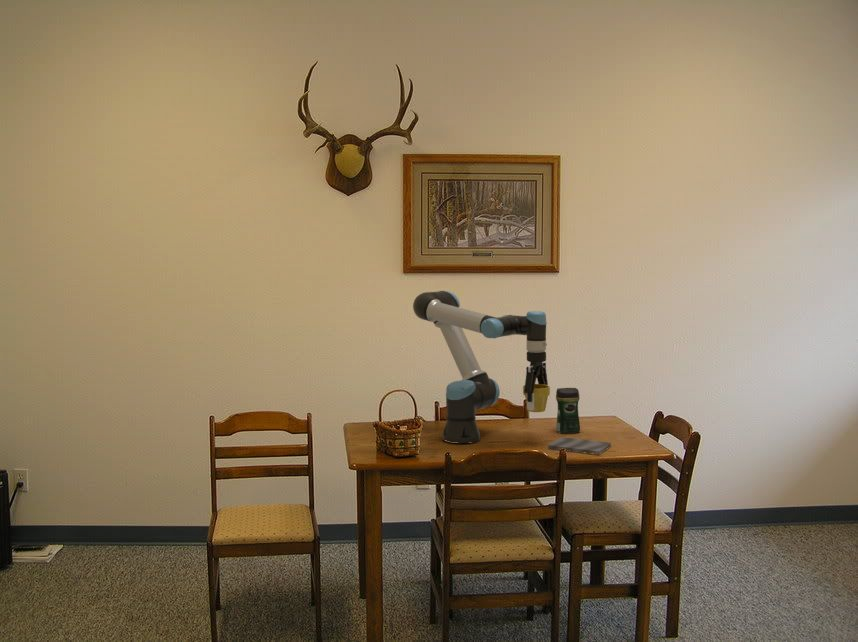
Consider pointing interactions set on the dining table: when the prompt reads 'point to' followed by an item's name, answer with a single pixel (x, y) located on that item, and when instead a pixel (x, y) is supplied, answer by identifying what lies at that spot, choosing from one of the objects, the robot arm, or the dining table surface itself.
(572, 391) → the coffee jar
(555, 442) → the trivet board
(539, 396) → the plant pot
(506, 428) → the dining table surface
